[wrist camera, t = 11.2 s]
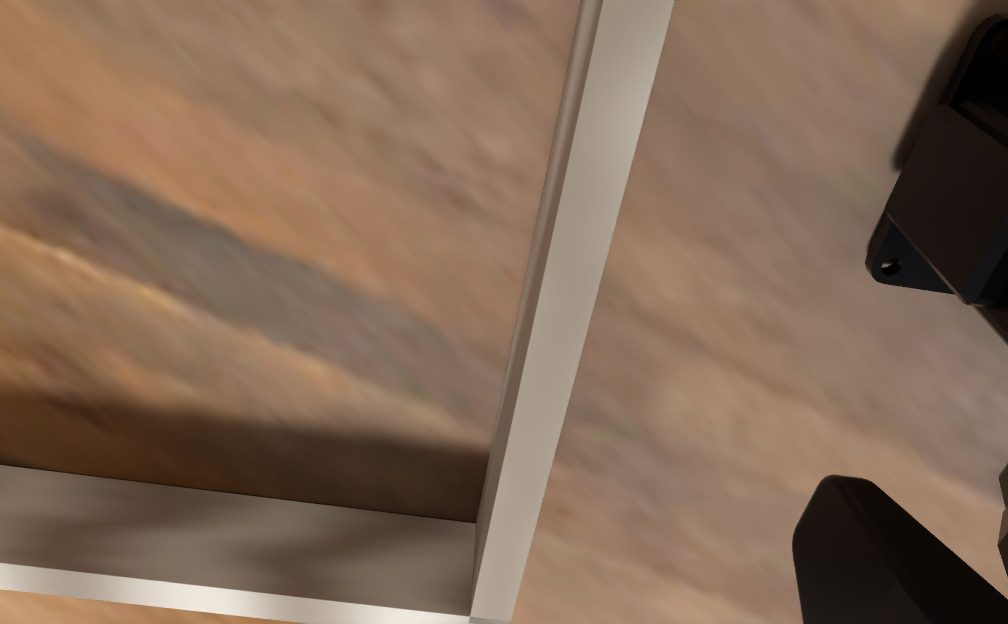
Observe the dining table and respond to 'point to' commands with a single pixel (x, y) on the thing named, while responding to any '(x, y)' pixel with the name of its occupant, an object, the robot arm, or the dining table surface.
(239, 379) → the dining table surface
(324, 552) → the metal u frame
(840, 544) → the robot arm
